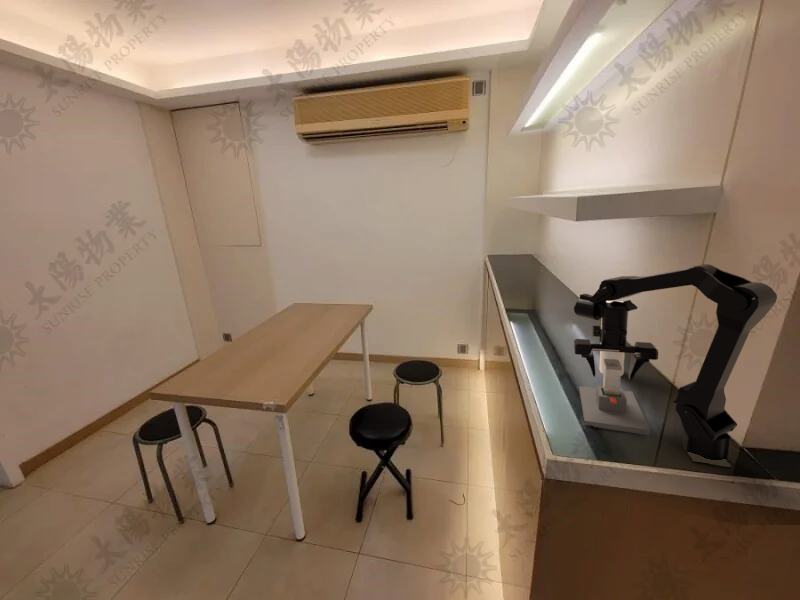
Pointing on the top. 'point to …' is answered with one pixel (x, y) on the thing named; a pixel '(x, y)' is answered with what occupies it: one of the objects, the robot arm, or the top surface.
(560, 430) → the top surface
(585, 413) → the jack stand base
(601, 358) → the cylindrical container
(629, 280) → the robot arm
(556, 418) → the top surface
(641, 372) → the top surface
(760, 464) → the top surface
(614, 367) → the grey-brown stepped block
